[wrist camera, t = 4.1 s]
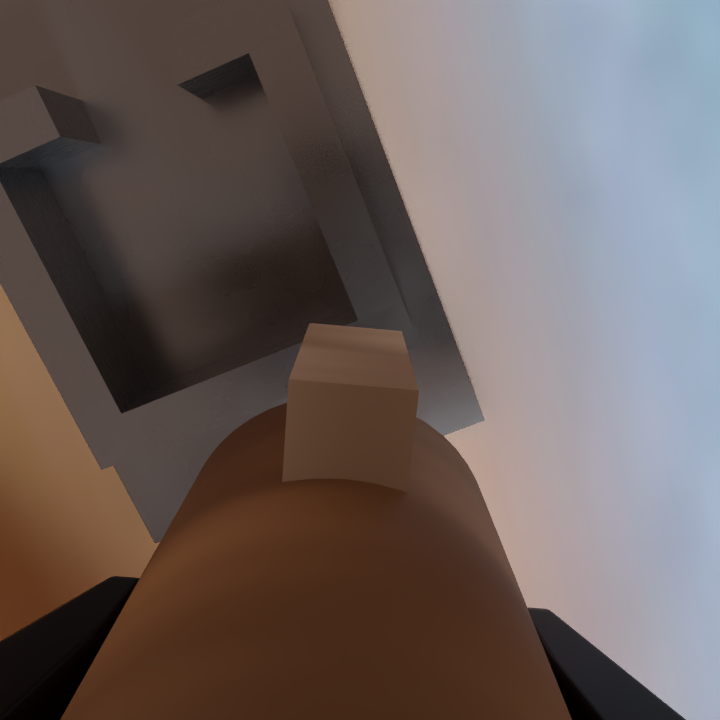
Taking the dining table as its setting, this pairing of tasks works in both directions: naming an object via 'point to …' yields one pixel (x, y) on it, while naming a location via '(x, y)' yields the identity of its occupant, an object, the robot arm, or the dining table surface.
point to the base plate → (198, 223)
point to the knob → (328, 570)
